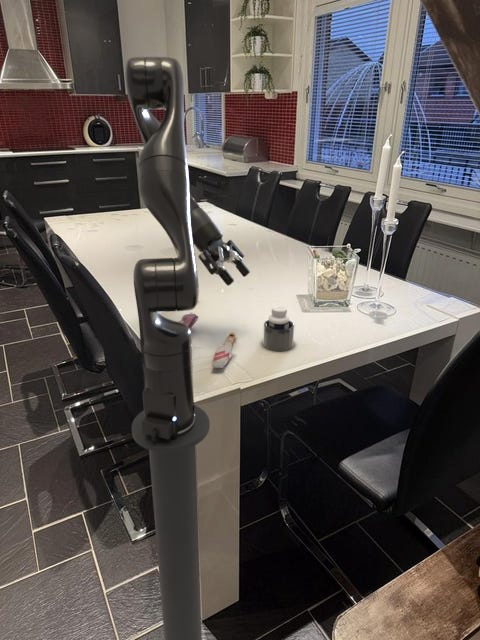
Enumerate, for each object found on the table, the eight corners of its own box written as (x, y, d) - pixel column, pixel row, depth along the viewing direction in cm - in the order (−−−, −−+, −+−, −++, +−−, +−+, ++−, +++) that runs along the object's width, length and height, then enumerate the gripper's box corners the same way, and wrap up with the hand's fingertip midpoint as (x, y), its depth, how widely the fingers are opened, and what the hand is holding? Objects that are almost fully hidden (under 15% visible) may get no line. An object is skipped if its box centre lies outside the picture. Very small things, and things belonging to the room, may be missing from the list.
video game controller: (178, 345, 128) (187, 326, 125) (164, 336, 129) (174, 317, 125) (194, 332, 137) (203, 313, 133) (181, 323, 137) (190, 305, 134)
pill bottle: (264, 343, 125) (265, 309, 121) (272, 336, 129) (274, 303, 125) (283, 347, 123) (284, 313, 119) (290, 340, 127) (292, 306, 123)
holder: (289, 353, 122) (290, 332, 119) (259, 348, 124) (260, 328, 121) (295, 340, 129) (297, 320, 126) (267, 336, 131) (268, 316, 128)
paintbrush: (208, 361, 110) (226, 330, 129) (208, 371, 111) (226, 339, 130) (224, 362, 110) (239, 331, 128) (224, 372, 111) (239, 340, 129)
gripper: (194, 225, 112) (235, 278, 112) (223, 216, 124) (261, 263, 123) (176, 244, 117) (216, 295, 116) (207, 233, 128) (243, 279, 128)
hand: (239, 279), depth 120 cm, fingers open, 8 cm apart
